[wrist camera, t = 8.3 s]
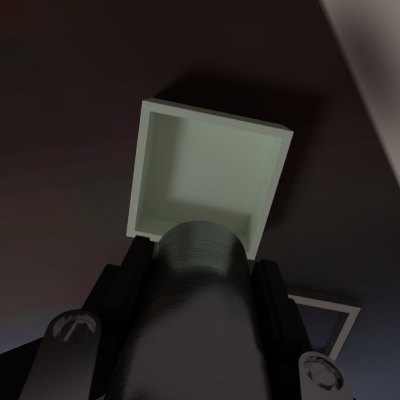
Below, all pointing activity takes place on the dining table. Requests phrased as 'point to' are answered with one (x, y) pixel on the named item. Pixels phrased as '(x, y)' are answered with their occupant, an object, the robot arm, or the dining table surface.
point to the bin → (204, 171)
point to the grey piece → (326, 301)
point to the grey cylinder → (194, 323)
